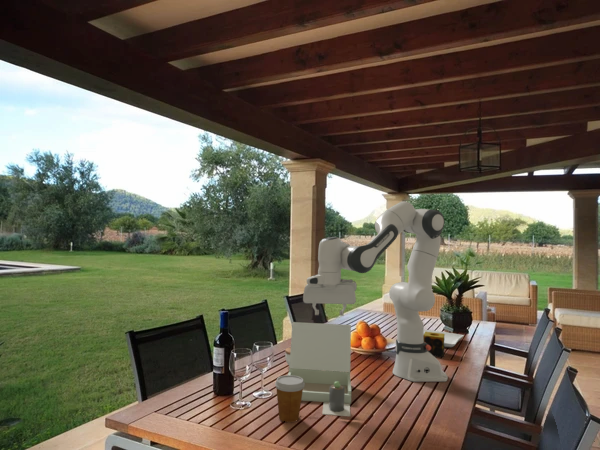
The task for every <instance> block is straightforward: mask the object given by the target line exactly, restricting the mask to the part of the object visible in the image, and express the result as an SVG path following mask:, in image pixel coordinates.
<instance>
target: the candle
mask: <svg viewBox="0 0 600 450" xmlns="http://www.w3.org/2000/svg"><path fill="white" fill-rule="evenodd" d="M444 336H445V334H442V333H434V332H425V333H424V336H423V339H424V342H425V343H427V344H428V345H430V347H431V348H430V350H428V352H429V353H431V354H432V355H433V356H434V357H438V358H444V355H445V347H444V340H445V339H444Z"/></svg>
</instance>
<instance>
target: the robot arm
mask: <svg viewBox="0 0 600 450" xmlns="http://www.w3.org/2000/svg"><path fill="white" fill-rule="evenodd" d="M444 227H445V217H444V214H443V213H442V212H441V211H439V210H436V209H429V208H418V209H417V208H415V207H414V205H413V204H411V203H410V202H408V201H403V200H402V201H399V202H398V203H396V204H394V205H392V206H391V207H389V208H387V209H386V210H385V211H383V212H382V213H381V214H380V215H379V216H378V217H377V218H376V219H375V220H374V229H375V232H376V233H377V235H375V236H374V237H373V238H372V239H371V240H370V241H369V242H368V243H365V244H363V245H351V244H349V243H346V242H345V241H343V240H341V239H340V237H337V236H330V237H325V238H322V239H321V240H320V241H319V243H318V244H319V245H318V253H317V255H318V256H317V261H318V268H317V269H318V270H317V274H314V275H312V276H308V277H307V278H306V284H305V287H304V289H303V297H302V301H303V303H304V304H312V305H311V307H312V308H313V310H314V315H315V316H319V314H320V309H318V308H317V307H316V306H317V304H325V305H326V304H331V305H333V304H334V305H342V309H340V310H339V317H340V316H341V317H344V316H345V315H344V312H345V311H346V309H347V305H355V303H356V301H357V299H356V298H357V297H356V292H355V291H357V287H358V286H357V285H358V284H357V282H356V281H355V280H353V279H343V278H342V269H343V270H347V271H352V272H355V273H359V274H365V273H368V272H369V271H371V270H372V269H373V268H374V265H376V263H377V260H378V258H379V257H380V256H381V255H383V253H384V252H385V251H386V250H387V249H389V247H390V246H391V245H392V244H393V243H394V242H395V240H396V239H397V237H399V235H400V234H401V233H402V232H405V233H408V234H414V235H415V236H416V240H415V243H414V245H413V248H412V250H411V253H410V255H409V259H408V262H407V266H406V268H407V272H408V282H407V281H400V282H396V283H394V284H392V286H390V289H389V290H388V291H389V292H388V295H389V298H390V300H391V301H392V304H393V308H394V313H395V318H396V327H397V328H396V330H397V331H396V340H395V361H394V366H393V368H392V374H393V375H395V377H399V378H401V379H405V380H408V381H409V382H422V383H423V382H427V383H428V382H447V381H448V375H447V373H446V372H445V371H443V369H442V364H441V362H440V361H439V360H438V358H436V356H433V355H432V354H431V353H429V352H428V350H430V348H431V347H430V345H428V344H427V343H425V342H423V336H424V330H425V329H424V327H425V326H424V322H423V319H421V316H420V313H419V312H429V311H430V310H431V309H432V308H433V307H434V306H435V303H436V296H435V293H434V292H433V288H432V284H433V282H432V281H433V274H434V271H435V270H434V269H435V267H436V263H437V260H438V256H439V253H440V249H441V243H442V242H441V241H442V240H441V239H442V238H441V236H440V235H441V234H442V231H443V230H444Z"/></svg>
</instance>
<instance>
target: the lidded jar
mask: <svg viewBox="0 0 600 450" xmlns="http://www.w3.org/2000/svg"><path fill="white" fill-rule="evenodd" d="M284 351H285V353H284V354H285V356H284V357H285V361H286V364H287V365H288V366H290V351H291V346H289V347H287V348H285V350H284Z"/></svg>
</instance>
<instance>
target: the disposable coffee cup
mask: <svg viewBox="0 0 600 450" xmlns="http://www.w3.org/2000/svg"><path fill="white" fill-rule="evenodd" d="M274 385H275V389H276V400H277V408H278V409H277V410H278V419H279V420H280V421H281V420H282V421H281V422H284V421H285V422H286V423H295V422H297V421H298V420H299V418H300V413H301V405H302V400H301V399H302V392H303V388H304V386H305V383H304V381H303V379H302V378H301V377H299V376H294V375H288V374H287V375H285V374H284V375H280V376H278V377H277V378H276V380H275V382H274ZM296 420H297V421H296Z"/></svg>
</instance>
